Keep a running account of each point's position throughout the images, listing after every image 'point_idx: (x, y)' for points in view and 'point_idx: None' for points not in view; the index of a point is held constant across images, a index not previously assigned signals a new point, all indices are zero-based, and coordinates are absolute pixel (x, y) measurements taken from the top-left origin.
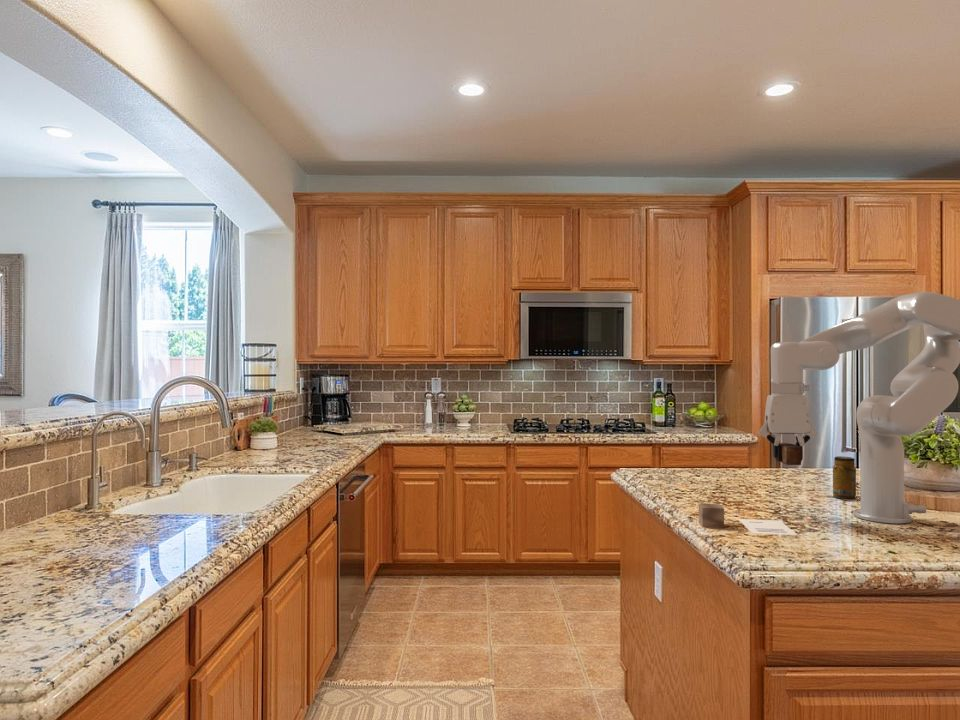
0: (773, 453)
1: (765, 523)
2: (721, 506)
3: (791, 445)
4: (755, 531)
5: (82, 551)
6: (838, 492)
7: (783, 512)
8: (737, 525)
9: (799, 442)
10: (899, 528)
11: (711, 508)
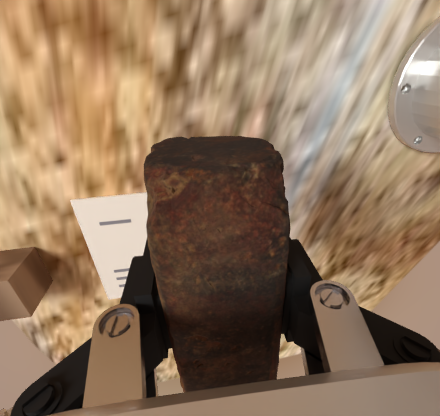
0: (131, 270)
1: (136, 226)
2: (19, 301)
3: (232, 376)
4: (114, 288)
5: None
6: None
7: (201, 66)
8: (76, 249)
9: (305, 363)
10: (412, 184)
11: (1, 319)
